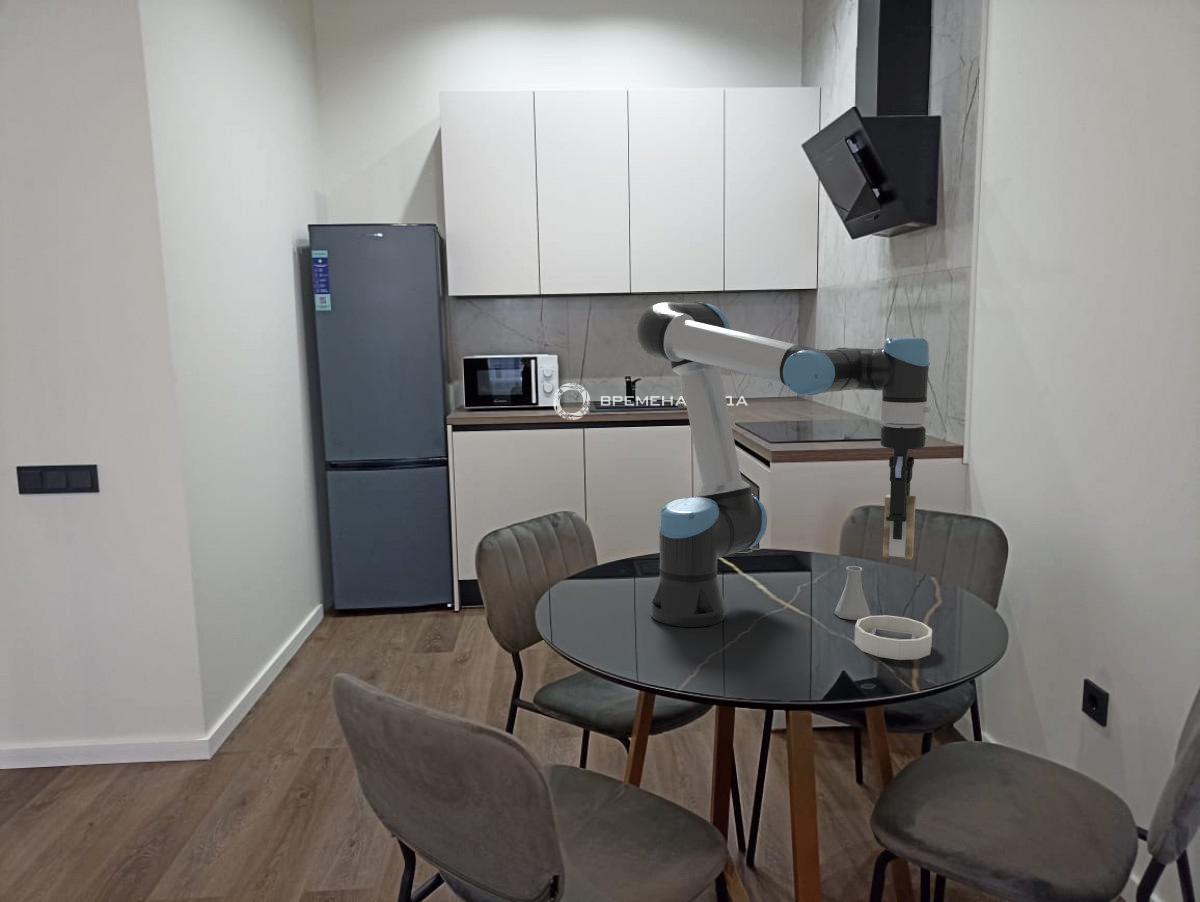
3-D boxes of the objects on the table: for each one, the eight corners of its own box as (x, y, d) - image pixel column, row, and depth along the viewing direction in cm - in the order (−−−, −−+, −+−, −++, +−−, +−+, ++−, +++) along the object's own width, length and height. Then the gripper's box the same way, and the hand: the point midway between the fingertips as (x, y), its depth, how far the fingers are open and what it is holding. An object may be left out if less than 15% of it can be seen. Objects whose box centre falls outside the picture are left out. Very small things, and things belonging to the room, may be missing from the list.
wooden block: (882, 556, 157) (884, 497, 156) (884, 552, 160) (886, 494, 158) (911, 559, 155) (914, 499, 154) (913, 555, 158) (915, 496, 156)
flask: (872, 622, 173) (874, 574, 171) (835, 620, 174) (837, 572, 173) (869, 611, 180) (871, 564, 178) (832, 608, 181) (834, 562, 180)
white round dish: (850, 652, 157) (851, 634, 156) (860, 629, 169) (861, 611, 168) (928, 664, 152) (929, 645, 151) (932, 639, 164) (933, 621, 163)
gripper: (922, 431, 145) (916, 567, 149) (928, 421, 160) (923, 545, 163) (875, 429, 148) (870, 562, 152) (886, 419, 163) (881, 541, 166)
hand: (897, 553), depth 157 cm, fingers closed on wooden block, 3 cm apart
